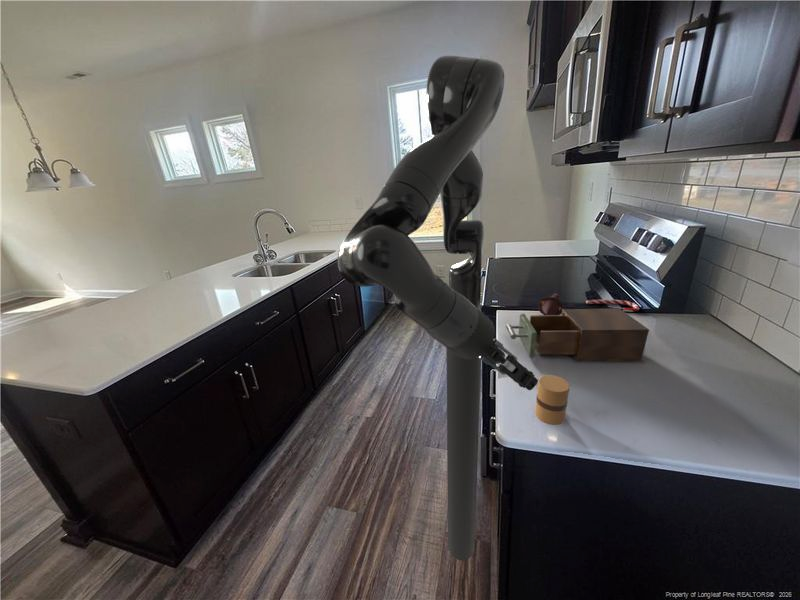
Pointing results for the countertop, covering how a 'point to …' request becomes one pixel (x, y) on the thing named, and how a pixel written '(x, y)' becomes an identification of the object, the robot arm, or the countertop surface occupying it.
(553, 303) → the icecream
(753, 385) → the countertop surface
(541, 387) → the cookie roll
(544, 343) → the drawer
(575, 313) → the cabinet
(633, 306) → the candy cane
